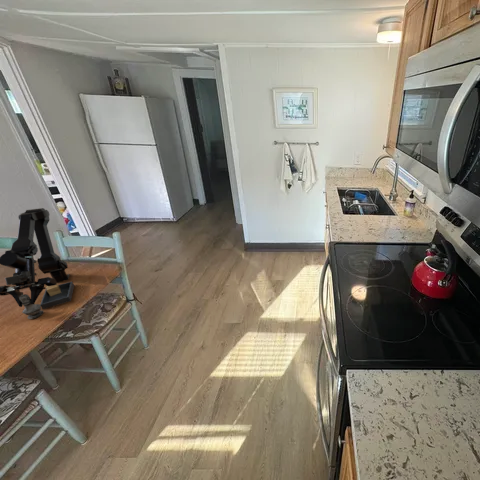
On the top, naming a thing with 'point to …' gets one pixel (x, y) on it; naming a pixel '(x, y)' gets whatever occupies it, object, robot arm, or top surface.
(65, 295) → the tray
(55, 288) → the block
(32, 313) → the grey statuette
